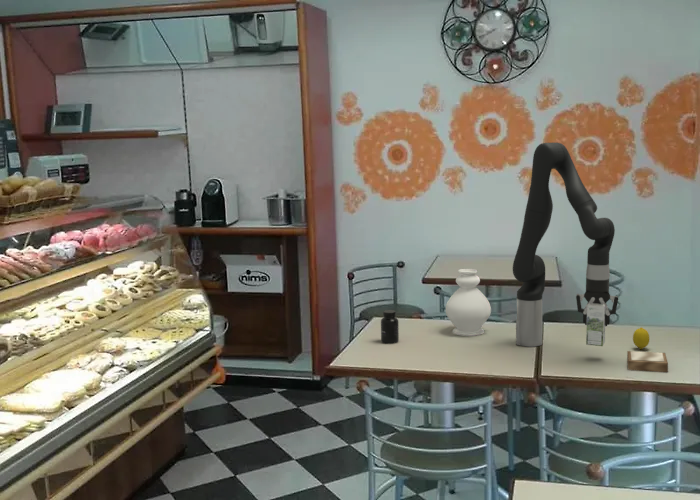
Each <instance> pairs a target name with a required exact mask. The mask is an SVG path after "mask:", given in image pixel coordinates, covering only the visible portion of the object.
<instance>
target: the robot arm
mask: <svg viewBox="0 0 700 500" xmlns="http://www.w3.org/2000/svg"><path fill="white" fill-rule="evenodd" d="M531 167H532V169H531V177H530V178H531V179H530V186H529V192H528V198H527V203H526V206H525V213H524V217H523V218H524V219H523V224H522V229H521V232H520V239H519V242H518V247H517V249H516V252H515V253H516V254H515V256H514V259H513V264H512V274H513V277H514V278H515V279H516V281H518V282H521V283H522V285H521V286H520V287H519V288H518V290H517V291H516V319H515V337H516V338H515V345H517V346H523V347H530V348H531V347H539V346H541V345H543V294H544V292H545V287H546V265H545V262H544V260H543V258H542V257H541V256H540V255H539V254H538V255H537V254H536V253H537V250H538V249H537V248H538V247H539V244H540V243H541V241H542V239H543V237H544V236H545V234H546V232H547V230H548V228H549V227H550V223H551V220H552V213H553V211H554V210H553V209H554V208H553V207H554V206H553V205H554V203H553V199H552V195H551V192H550V178H551V172H552V170H556V172H558V174H559V175H560V177H561V178H562V180H563V182H564V187H565V188H564V189H565V194H566V197H567V200H568V203H569V204H570V205H571V207H572V208H573V210H574V212H575V214H576V215H577V216H578V221H579V223H580V227H581V230H582V232H583V234H584V235H585V236H586V238H588V239H589V240H592V241H594V242H593V245H591V246H590V247H588V249H587V257H586V258H587V261H586V263H587V265H586V270H585V272H586V273H585V293H582V294H580V293H577V294H576V296H575V299H576V306H577V307H576V308H577V312H578V313H581V314H582V315H583V316H582V322H583V324H584V325H585V326H587V304H592V303H597V304H605V313H606V314H605V327H608V325H610V321H611V320H610V316H611V315H615V314H616V312H617V308H618V303H619V296H618V295H611V294H610V276H611V275H610V271H611V270H610V252H611V249H612V245H613V241H614V238H615V232H616V229H615V225H614V222H613V220H611V219H610V218H608V217H600V218H598V217H596V212H597V210H598V205H597V203H596V202H595V200H594V199H593V197H592V196H591V194H590V193H589V191H588V190H587V188H586V186H585V184H584V183H583V181H582V179H581V177H580V174H579V172H578V170H577V168H576V166H575V163H574V162H573V159H572V156H571V154H570V153H569V150H568V149H567V147H566V146H565V144H563V143H561V142H542V143H540V144H538V145H537V146H536V148H535V150H534V152H533V156H532V166H531ZM583 299H584V300H586V301H587V303H586V305H585V307H584V308H583V307H582V301H583ZM609 300H611V303H612V308H611V309H609V307H608V305H607V303H608V301H609Z"/></svg>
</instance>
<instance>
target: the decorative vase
mask: <svg viewBox="0 0 700 500" xmlns="http://www.w3.org/2000/svg"><path fill="white" fill-rule="evenodd" d="M457 273H458V274H459V275H458V276H457V277H456V278H455V283H456V284H457V285H458V286H459V287H458V288H457V289H456V290H455V291H454V292H453V293H452V295H451V296H450V298H449V299H448V301H447V302H446V304H445V315H446V317H447V318H448V320H449V321H450V322H451V323H452V325H454V327H455V328H453V329H452V334H453V335H458V336H463V337H476V336H482V335H483V334H484V333H485V329H483V328H482V327H483V325H484V324H485V323H486V322H487V320H488V319H489V318H490V316H491V313H492V308H491V304H490V302H489V300H488V298H487V296H485V294H483V292H482V291H481V290H479V288H477V286H478V285H479V284H480V282H481V279H480V277H479V276H478V275H477V274H478V269H475V268H461V269H460V268H459V269H458V270H457Z"/></svg>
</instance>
